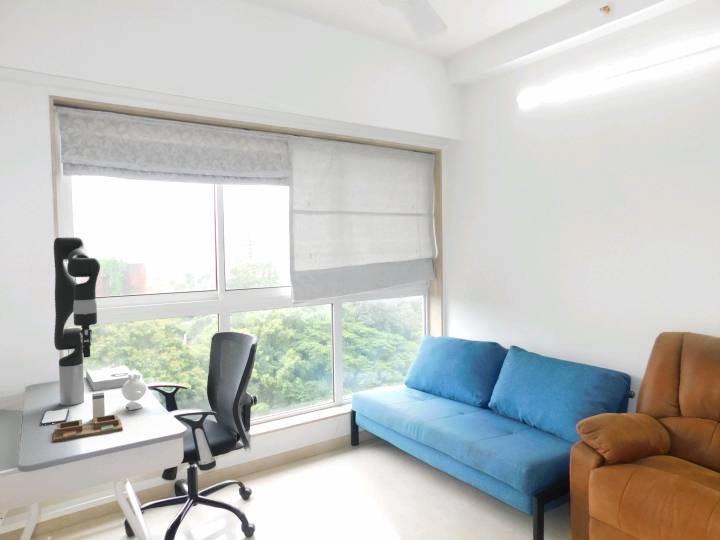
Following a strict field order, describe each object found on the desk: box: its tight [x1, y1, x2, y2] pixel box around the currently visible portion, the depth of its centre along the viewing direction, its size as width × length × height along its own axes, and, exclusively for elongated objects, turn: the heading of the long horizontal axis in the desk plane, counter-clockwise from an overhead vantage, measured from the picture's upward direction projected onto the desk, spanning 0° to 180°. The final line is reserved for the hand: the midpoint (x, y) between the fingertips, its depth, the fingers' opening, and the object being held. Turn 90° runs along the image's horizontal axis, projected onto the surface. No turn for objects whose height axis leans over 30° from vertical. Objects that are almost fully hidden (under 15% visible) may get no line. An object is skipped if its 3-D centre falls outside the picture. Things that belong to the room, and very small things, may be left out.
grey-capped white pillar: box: [91, 392, 106, 422], centre depth 195 cm, size 4×4×10 cm
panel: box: [52, 413, 123, 443], centre depth 182 cm, size 12×22×3 cm, turn 121°
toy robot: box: [120, 373, 147, 411], centre depth 210 cm, size 15×10×15 cm, turn 40°
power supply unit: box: [85, 364, 134, 392], centre depth 255 cm, size 19×33×5 cm, turn 35°
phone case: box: [40, 408, 70, 426], centre depth 197 cm, size 9×2×16 cm
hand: (86, 355), depth 181 cm, fingers open, 8 cm apart
